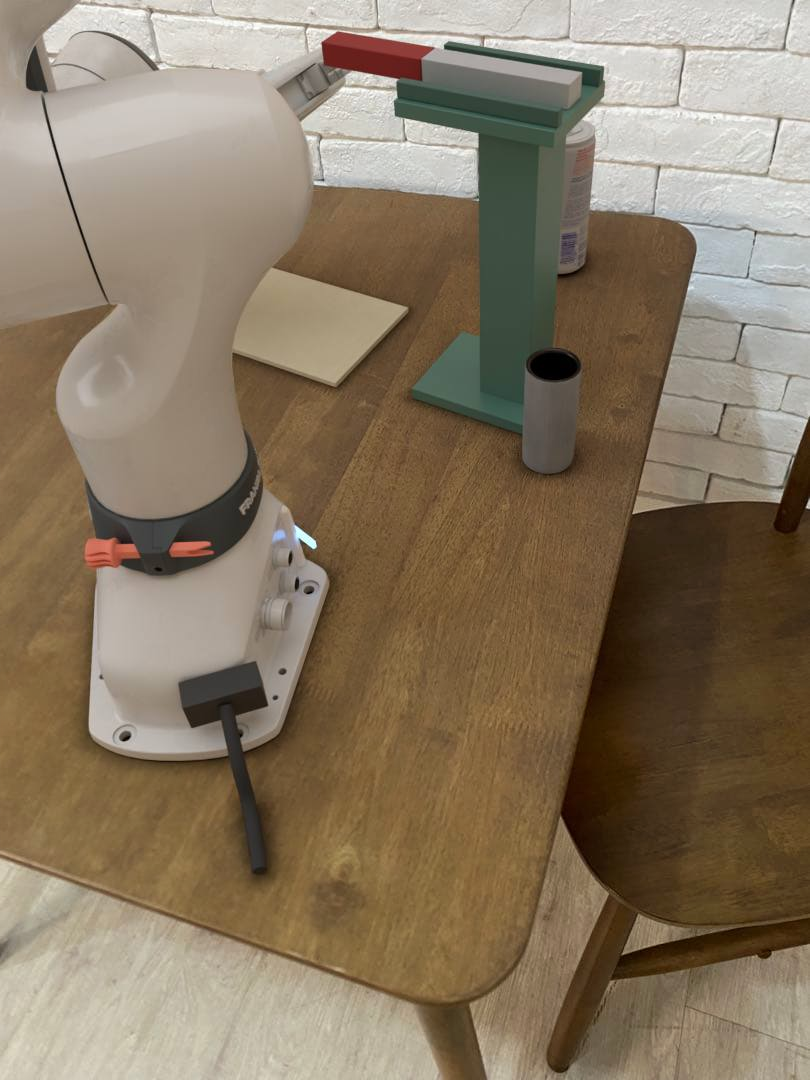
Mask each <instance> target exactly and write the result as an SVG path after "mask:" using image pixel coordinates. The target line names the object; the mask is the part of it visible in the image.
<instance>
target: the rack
mask: <svg viewBox="0 0 810 1080" xmlns="http://www.w3.org/2000/svg"><path fill="white" fill-rule="evenodd" d="M443 49H445V50H451V51H457V52H463V53H469V54H475V55H481V56H487V57H493V58H499V59H505V60H511V61H517V62H523V63H529V64H535V65H541V66H547V67H553V68H559V69H565V70H571V71H577V72H582V84H581V97H580V98H579V99H578V100H577V101H576V102H575V103H574V104H573V105H572V106H571V107H570V108H569V109H568V110H566V109H563V107H559V106H554V105H549V104H543V103H538V102H532V101H527V100H521V99H516V98H510V97H505V96H499V95H494V94H488V93H483V92H478V91H472V90H467V89H461V88H456V87H450V86H445V85H439V84H434V83H428V82H423V81H417V80H412V79H406V78H400V79H396V82H395V84H396V99H394V100H393V110H394V111H393V112H394V117H396V118H401V119H406V120H410V121H416V122H420V123H426V124H429V125H434V126H435V125H436V126H441V127H445V128H451V129H455V130H460V131H466V132H470V133H475V134H477V136H478V137H477V143H478V145H477V146H478V147H477V148H478V149H477V150H478V153H477V156H478V157H477V159H478V160H477V161H478V284H479V285H478V291H479V292H478V293H479V294H478V296H479V297H478V299H479V302H478V304H479V305H478V307H479V309H478V311H479V312H478V313H479V315H478V316H479V336H478V335H475V334H471V333H468V332H465V331H460V333H459V334H458V335H456V337H455V338H454V340H453V341H452V342H451V343H450V344H449V345H448V346H447V347H446V348H445V350H444V351H443V352H442V353H441V354H440V355H439V356H438V358H437V359H436V360H435V361H434V362H433V364H431V366H429V368H428V369H427V370H426V371H425V372H424V374H423V375H422V376H420V378H419V379H418V381H416V383H415V384H414V385H413V386H412V387H411V397H412V399H414V400H418V401H420V402H423V403H426V404H429V405H432V406H435V407H439V408H442V409H445V410H447V411H450V412H453V413H456V414H459V415H463V416H465V417H468V418H471V419H475V420H477V421H480V422H484V423H487V424H489V425H492V426H494V427H495V426H496V427H498V428H501V429H504V430H507V431H510V432H512V433H517V434H519V435H522V436H523V412H524V388H525V365H526V361H527V359H528V358H529V356H530V355H531V354H533V353H534V352H536V351H538V350H541V349H545V348H554V347H553V346H554V335H555V334H554V332H555V317H556V302H557V301H556V300H557V287H558V286H557V285H558V284H557V283H558V274H557V272H558V256H559V240H560V225H561V209H562V194H563V178H564V163H565V147H566V135H567V134H568V133H569V132H570V131H571V130H572V129H573V128H574V127H575V126H576V125H577V124H578V123H579V122H580V121H581V120H584V118H585V117H586V116H587V115H588V113H590V112H591V110H592V109H594V107H595V106H596V105H598V103H599V102H601V100H602V99H603V98H604V97H605V93H606V92H605V91H606V80H604V75H605V66H604V65H600V64H599V65H598V64H593V63H586V62H581V61H576V60H575V61H574V60H569V59H561V58H555V57H550V56H543V55H538V54H530V53H525V52H519V51H513V50H507V49H501V48H493V47H488V46H482V45H475V44H470V43H469V44H468V43H463V42H457V41H451V40H448V41H447V42H445V43H444V44H443Z"/></svg>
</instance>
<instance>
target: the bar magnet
mask: <svg viewBox="0 0 810 1080" xmlns="http://www.w3.org/2000/svg"><path fill="white" fill-rule="evenodd" d="M320 44H321V45H320V46H321V48H322V53H323V61H324V65H325V66H330V67H335V68H340V69H346V70H351V72H357V73H363V74H369V75H373V76H380V77H384V78H390V79H395V80H399V79H400V78H406V79H412V80H417V81H423V82H428V83H434V84H439V85H445V86H450V87H456V88H461V89H467V90H472V91H478V92H483V93H488V94H494V95H499V96H505V97H510V98H516V99H521V100H527V101H532V102H538V103H543V104H549V105H554V106H559V107H563V109H566V110H568V109H569V108H570V107H571V106H572V105H573V104H574V103H575V102H576V101H577V100H578V99H579V98H580V97H581V84H582V72H577V71H571V70H565V69H559V68H553V67H547V66H541V65H535V64H529V63H523V62H517V61H511V60H505V59H499V58H493V57H487V56H481V55H475V54H469V53H463V52H457V51H451V50H445V49H444V48H438V47H435V46H429V45H422V44H418V43H410V42H406V41H399V40H394V39H393V40H392V39H387V38H382V37H374V36H370V35H363V34H356V33H350V32H345V31H339V30H337V31H336V32H334V33H332V34H331V35H330V36H328V37H326V38H325V39H323V40H322V41H321V43H320Z"/></svg>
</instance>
